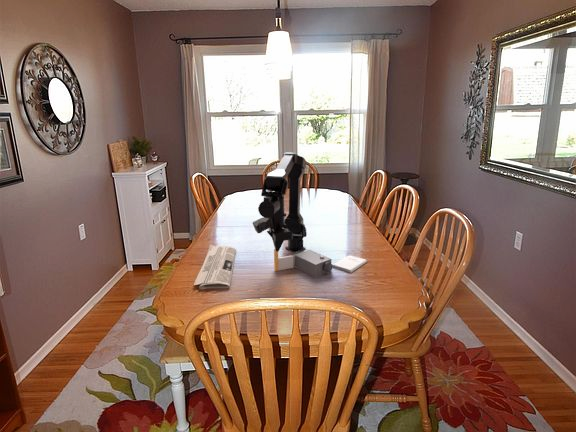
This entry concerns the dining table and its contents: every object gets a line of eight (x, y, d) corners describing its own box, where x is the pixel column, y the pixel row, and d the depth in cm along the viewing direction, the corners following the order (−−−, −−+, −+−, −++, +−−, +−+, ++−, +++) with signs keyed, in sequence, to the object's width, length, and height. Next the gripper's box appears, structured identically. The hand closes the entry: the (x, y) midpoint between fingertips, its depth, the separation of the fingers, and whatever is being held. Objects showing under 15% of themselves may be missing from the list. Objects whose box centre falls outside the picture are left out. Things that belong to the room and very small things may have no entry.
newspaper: (229, 289, 129) (229, 280, 128) (193, 291, 128) (192, 281, 127) (236, 251, 162) (236, 243, 161) (207, 252, 162) (206, 244, 161)
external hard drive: (332, 268, 145) (348, 258, 154) (350, 274, 140) (366, 263, 149) (332, 264, 144) (348, 254, 153) (350, 270, 139) (366, 259, 148)
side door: (294, 266, 145) (294, 245, 143) (295, 267, 144) (295, 246, 141) (274, 269, 142) (274, 248, 140) (275, 271, 141) (275, 250, 139)
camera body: (294, 266, 145) (294, 253, 144) (309, 261, 150) (310, 248, 148) (318, 278, 135) (318, 264, 133) (334, 272, 140) (334, 258, 138)
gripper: (248, 205, 139) (250, 245, 144) (260, 219, 122) (262, 263, 127) (277, 203, 143) (277, 241, 147) (293, 216, 126) (293, 259, 130)
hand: (277, 250), depth 138 cm, fingers closed
